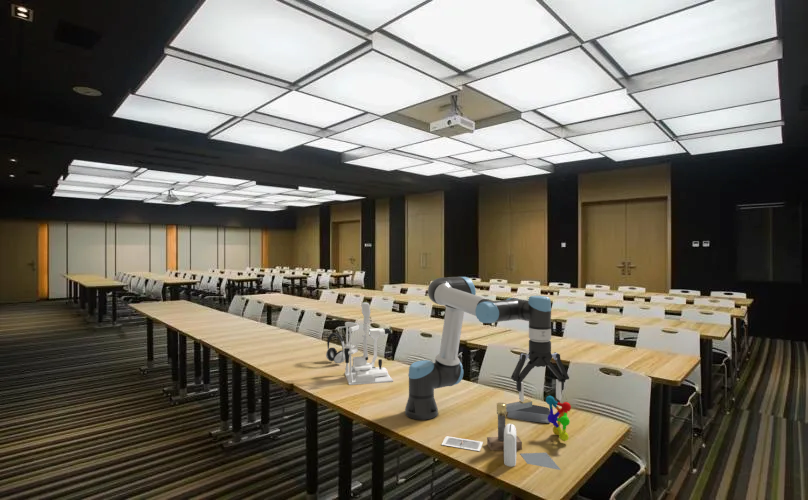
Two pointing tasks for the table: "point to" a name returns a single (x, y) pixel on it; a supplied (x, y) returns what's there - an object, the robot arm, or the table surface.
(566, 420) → the molecular model
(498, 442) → the post stand
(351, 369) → the white slit lamp
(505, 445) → the white upright block
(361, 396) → the table surface
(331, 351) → the headphones
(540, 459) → the mat
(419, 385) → the robot arm
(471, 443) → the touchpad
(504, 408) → the lever
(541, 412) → the external hard drive
